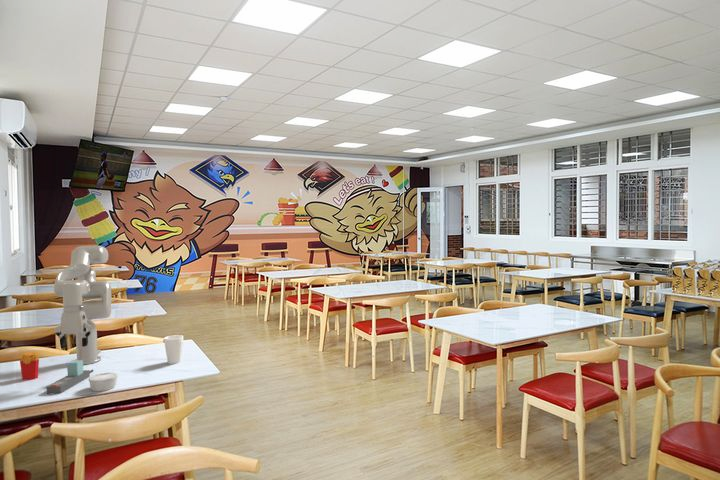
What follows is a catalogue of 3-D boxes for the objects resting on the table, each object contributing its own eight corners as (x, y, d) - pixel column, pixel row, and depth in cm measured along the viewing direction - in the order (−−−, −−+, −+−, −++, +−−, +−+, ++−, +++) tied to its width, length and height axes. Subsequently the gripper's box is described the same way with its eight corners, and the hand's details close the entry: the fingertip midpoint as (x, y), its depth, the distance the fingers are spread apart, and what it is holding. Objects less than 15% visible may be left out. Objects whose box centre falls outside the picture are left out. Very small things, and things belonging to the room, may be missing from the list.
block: (73, 377, 220) (73, 360, 220) (83, 377, 220) (82, 360, 220) (67, 380, 215) (67, 363, 215) (77, 380, 216) (77, 362, 215)
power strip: (86, 371, 232) (86, 364, 232) (98, 371, 232) (98, 363, 232) (46, 393, 202) (46, 385, 202) (60, 393, 202) (60, 385, 202)
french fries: (18, 379, 221) (17, 354, 220) (25, 376, 225) (24, 351, 224) (36, 379, 220) (35, 354, 220) (42, 377, 224) (41, 351, 224)
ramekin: (111, 382, 216) (110, 370, 216) (122, 387, 209) (122, 375, 209) (84, 388, 207) (84, 377, 207) (95, 394, 200) (94, 382, 200)
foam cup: (183, 363, 242) (183, 338, 242) (164, 365, 239) (163, 340, 239) (184, 358, 251) (183, 334, 251) (165, 360, 248) (164, 336, 248)
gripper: (96, 307, 220) (97, 343, 221) (59, 308, 220) (60, 344, 220) (87, 309, 213) (88, 347, 213) (48, 310, 213) (49, 348, 213)
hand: (74, 346), depth 217 cm, fingers open, 9 cm apart
